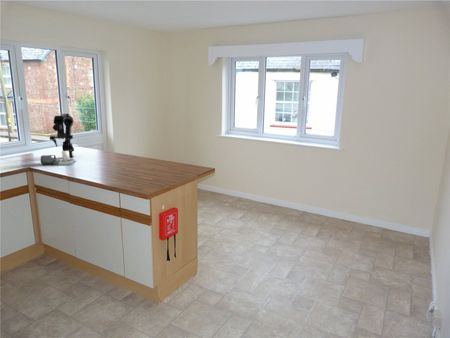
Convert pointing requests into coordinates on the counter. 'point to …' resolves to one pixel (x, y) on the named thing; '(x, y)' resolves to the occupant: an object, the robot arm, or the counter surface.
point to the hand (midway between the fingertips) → (62, 146)
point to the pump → (65, 156)
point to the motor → (52, 160)
